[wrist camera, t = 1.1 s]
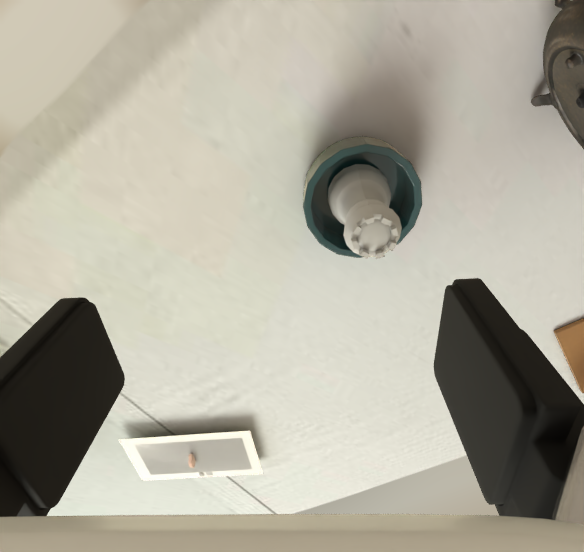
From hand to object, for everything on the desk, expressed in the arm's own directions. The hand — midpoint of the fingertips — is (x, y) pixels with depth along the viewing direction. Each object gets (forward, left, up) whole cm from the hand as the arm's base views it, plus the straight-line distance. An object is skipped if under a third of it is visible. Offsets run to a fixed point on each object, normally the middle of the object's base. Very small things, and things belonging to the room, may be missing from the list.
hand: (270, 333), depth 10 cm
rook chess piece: (-3, +4, -19) cm, 20 cm away
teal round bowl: (-3, +4, -19) cm, 20 cm away
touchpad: (+28, +20, -19) cm, 40 cm away
